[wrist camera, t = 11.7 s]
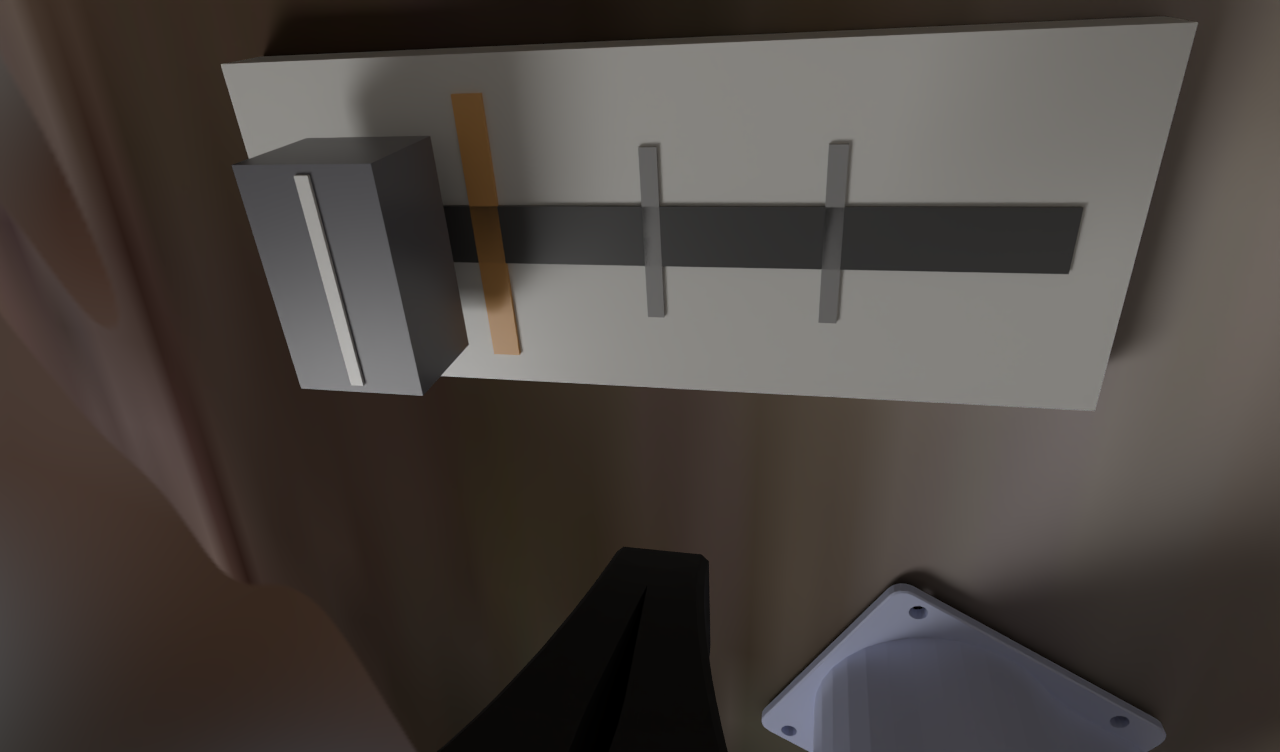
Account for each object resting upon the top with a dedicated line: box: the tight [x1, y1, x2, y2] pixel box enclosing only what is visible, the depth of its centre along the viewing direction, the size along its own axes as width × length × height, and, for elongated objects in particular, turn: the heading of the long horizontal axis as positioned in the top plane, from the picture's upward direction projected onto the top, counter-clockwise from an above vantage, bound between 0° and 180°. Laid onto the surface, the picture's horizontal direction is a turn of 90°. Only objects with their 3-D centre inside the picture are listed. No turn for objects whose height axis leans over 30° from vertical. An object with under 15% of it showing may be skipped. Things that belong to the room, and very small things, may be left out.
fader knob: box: [232, 136, 469, 396], centre depth 17 cm, size 3×5×4 cm, turn 4°
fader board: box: [221, 16, 1198, 411], centre depth 18 cm, size 20×8×2 cm, turn 94°
